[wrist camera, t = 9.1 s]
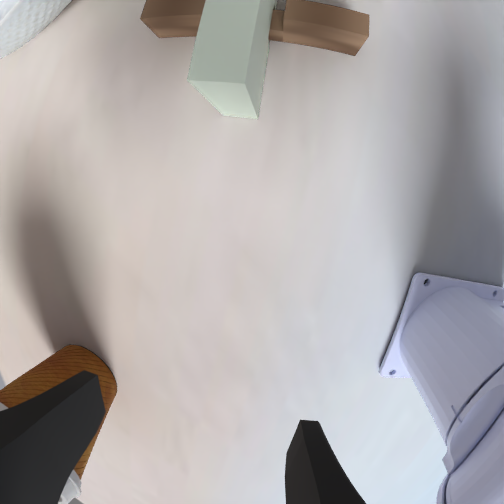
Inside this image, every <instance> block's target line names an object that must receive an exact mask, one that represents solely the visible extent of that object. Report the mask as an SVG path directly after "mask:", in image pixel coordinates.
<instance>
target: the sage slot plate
mask: <svg viewBox="0 0 504 504" xmlns="http://www.w3.org/2000/svg"><path fill="white" fill-rule="evenodd" d="M276 5H277V0H206V1H205V5H204V8H203V12H202V16H201V20H200V24H199V28H198V32H197V36H196V40H195V45H194V49H193V54H192V58H191V63H190V68H189V73H188V78H187V81H188V82H189V83H190V84H191V85H192V86H193V87H194V88H195V89H196V90H198V91H199V92H200V93H201V94H202V95H203V96H204V97H205V98H206V99H207V100H208V101H209V102H210V103H211V104H212V105H213V106H214V107H215V108H216V109H217V110H218V111H219V112H220V113H221V114H222V115H223V116H233V117H242V118H251V119H258V116H259V110H260V103H261V97H262V90H263V84H264V78H265V72H266V65H267V59H268V53H269V39H268V36H269V30H270V24H271V18H272V12H273V9H274V10H276Z"/></svg>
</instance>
